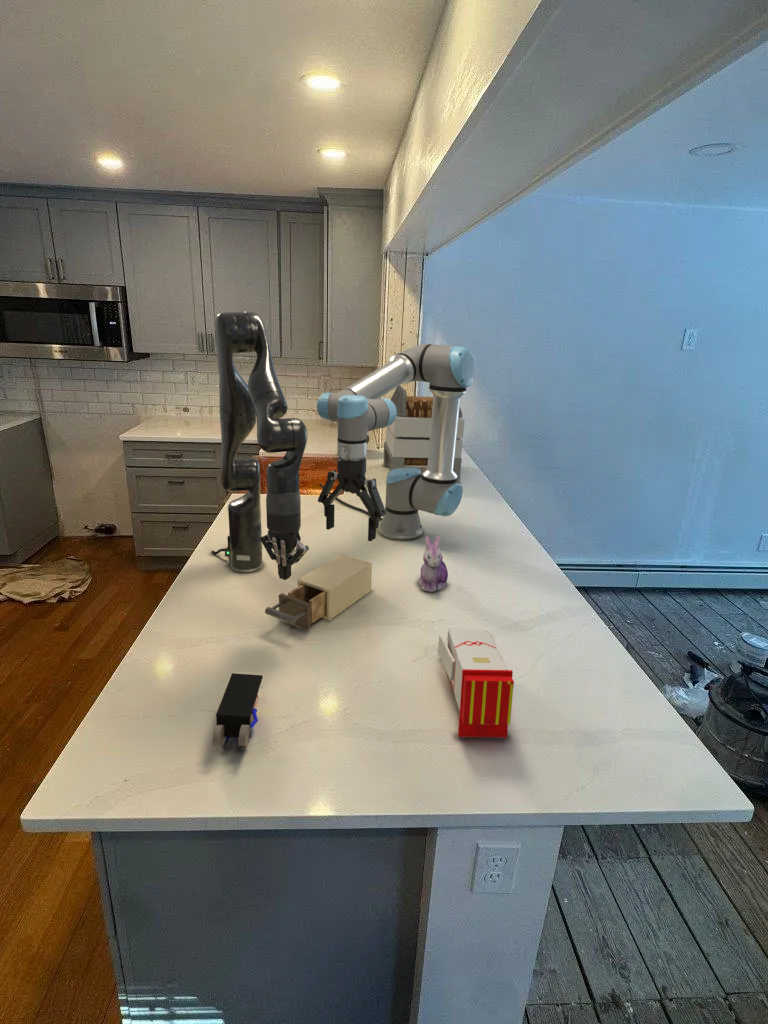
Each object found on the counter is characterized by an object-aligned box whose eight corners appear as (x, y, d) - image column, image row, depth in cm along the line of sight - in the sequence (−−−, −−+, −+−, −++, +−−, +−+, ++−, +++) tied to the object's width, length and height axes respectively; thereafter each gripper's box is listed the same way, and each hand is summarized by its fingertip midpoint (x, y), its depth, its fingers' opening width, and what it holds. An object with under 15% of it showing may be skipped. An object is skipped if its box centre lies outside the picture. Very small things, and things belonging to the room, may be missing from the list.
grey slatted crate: (382, 463, 289) (386, 382, 275) (445, 464, 293) (451, 384, 279) (390, 482, 257) (394, 392, 243) (460, 483, 261) (468, 394, 247)
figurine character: (250, 764, 99) (265, 700, 113) (248, 732, 96) (263, 671, 109) (212, 763, 99) (231, 699, 112) (208, 732, 96) (228, 670, 109)
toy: (488, 613, 130) (523, 677, 101) (484, 667, 133) (517, 744, 104) (435, 612, 130) (455, 676, 101) (432, 666, 133) (451, 743, 103)
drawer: (293, 640, 132) (292, 615, 130) (264, 628, 137) (263, 603, 134) (351, 600, 152) (351, 577, 149) (324, 590, 156) (324, 568, 154)
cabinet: (329, 620, 143) (329, 590, 140) (297, 608, 148) (297, 579, 145) (371, 590, 159) (372, 563, 156) (341, 581, 164) (341, 553, 161)
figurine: (428, 595, 157) (432, 546, 152) (409, 580, 166) (413, 532, 161) (456, 589, 161) (461, 541, 156) (437, 574, 170) (441, 528, 165)
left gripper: (249, 506, 126) (252, 576, 132) (295, 519, 120) (296, 592, 126) (272, 498, 132) (274, 565, 138) (317, 509, 126) (317, 580, 132)
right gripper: (304, 452, 148) (305, 527, 156) (385, 468, 136) (382, 549, 144) (321, 446, 154) (322, 519, 162) (401, 462, 142) (397, 540, 150)
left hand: (284, 578), depth 132 cm, fingers closed
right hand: (350, 533), depth 153 cm, fingers open, 13 cm apart
